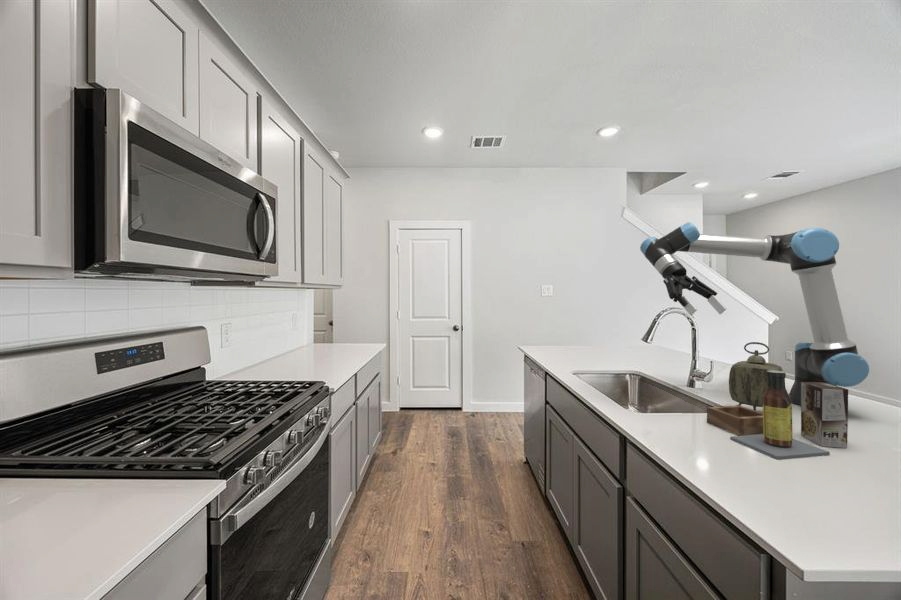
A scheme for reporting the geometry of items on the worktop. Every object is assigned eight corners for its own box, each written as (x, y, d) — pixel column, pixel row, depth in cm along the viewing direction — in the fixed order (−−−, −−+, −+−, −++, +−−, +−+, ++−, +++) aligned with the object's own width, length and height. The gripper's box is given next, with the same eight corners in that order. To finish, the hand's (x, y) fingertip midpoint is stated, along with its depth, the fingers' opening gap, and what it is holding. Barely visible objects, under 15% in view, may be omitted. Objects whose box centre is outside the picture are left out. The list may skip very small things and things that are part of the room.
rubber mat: (777, 435, 118) (777, 433, 118) (829, 455, 104) (829, 451, 104) (730, 439, 115) (730, 436, 115) (777, 459, 101) (777, 456, 101)
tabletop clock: (784, 416, 136) (785, 343, 135) (780, 422, 130) (781, 345, 129) (733, 407, 146) (734, 339, 146) (727, 412, 140) (727, 341, 140)
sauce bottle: (798, 448, 106) (798, 374, 106) (771, 447, 107) (771, 373, 107) (782, 439, 112) (782, 369, 112) (757, 438, 114) (757, 369, 113)
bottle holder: (738, 420, 132) (739, 405, 132) (773, 433, 120) (774, 416, 120) (706, 422, 130) (706, 407, 130) (739, 435, 118) (739, 418, 118)
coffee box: (848, 448, 108) (850, 389, 108) (821, 446, 110) (822, 388, 109) (824, 436, 117) (825, 381, 117) (799, 435, 119) (800, 380, 118)
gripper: (689, 277, 155) (727, 318, 141) (638, 276, 146) (673, 320, 133) (702, 262, 150) (742, 303, 136) (650, 261, 141) (688, 305, 127)
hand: (708, 312), depth 134 cm, fingers open, 13 cm apart
